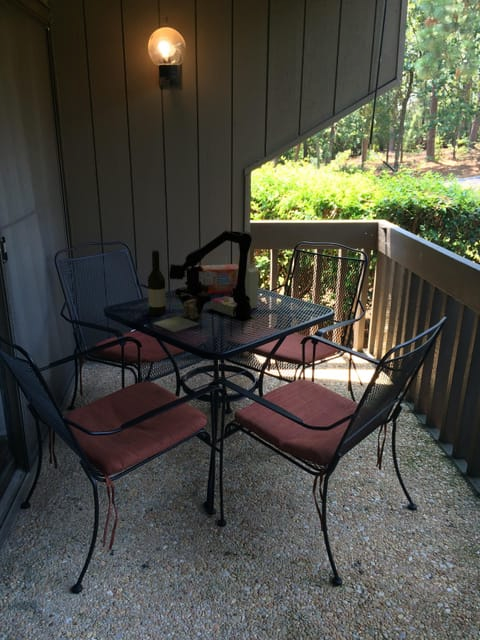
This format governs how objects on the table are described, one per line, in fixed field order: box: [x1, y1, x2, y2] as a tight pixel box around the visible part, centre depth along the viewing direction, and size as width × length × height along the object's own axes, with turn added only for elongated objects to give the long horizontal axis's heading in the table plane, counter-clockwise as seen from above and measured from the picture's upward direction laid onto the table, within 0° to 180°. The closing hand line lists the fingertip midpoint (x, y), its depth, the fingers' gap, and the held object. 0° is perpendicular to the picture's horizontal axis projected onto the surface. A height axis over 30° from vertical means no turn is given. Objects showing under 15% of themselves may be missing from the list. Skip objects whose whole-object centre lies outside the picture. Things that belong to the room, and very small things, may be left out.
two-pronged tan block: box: [183, 299, 203, 320], centre depth 228 cm, size 6×6×7 cm
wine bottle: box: [147, 249, 167, 317], centre depth 228 cm, size 8×8×30 cm
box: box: [189, 263, 239, 295], centre depth 270 cm, size 27×13×14 cm, turn 108°
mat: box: [152, 315, 199, 333], centre depth 218 cm, size 14×14×1 cm
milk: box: [245, 262, 260, 310], centre depth 241 cm, size 6×6×22 cm
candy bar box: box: [209, 295, 237, 318], centre depth 238 cm, size 11×5×16 cm
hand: (193, 312), depth 229 cm, fingers open, 8 cm apart
